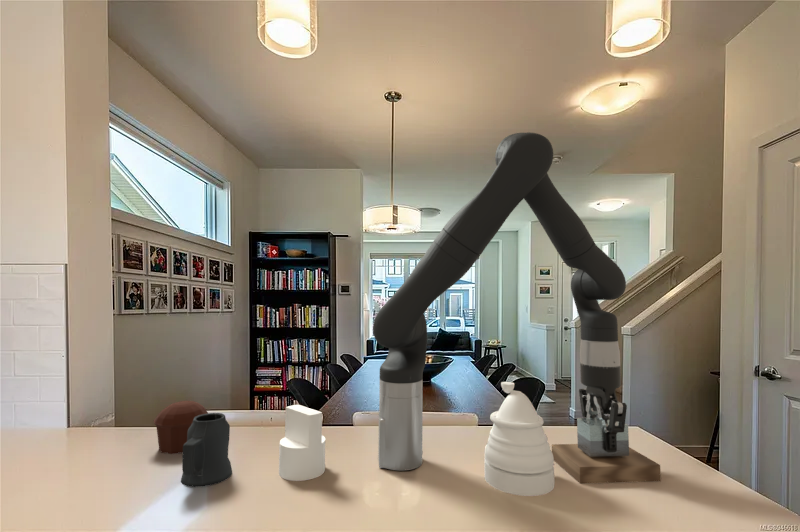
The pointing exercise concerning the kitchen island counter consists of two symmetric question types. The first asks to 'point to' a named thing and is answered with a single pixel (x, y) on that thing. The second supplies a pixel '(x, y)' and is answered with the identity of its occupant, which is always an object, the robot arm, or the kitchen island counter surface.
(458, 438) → the kitchen island counter surface
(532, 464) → the honey pot
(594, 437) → the block
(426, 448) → the kitchen island counter surface
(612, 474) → the walnut stand
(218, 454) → the mug
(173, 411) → the muffin
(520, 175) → the robot arm
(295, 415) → the base with upright slab
